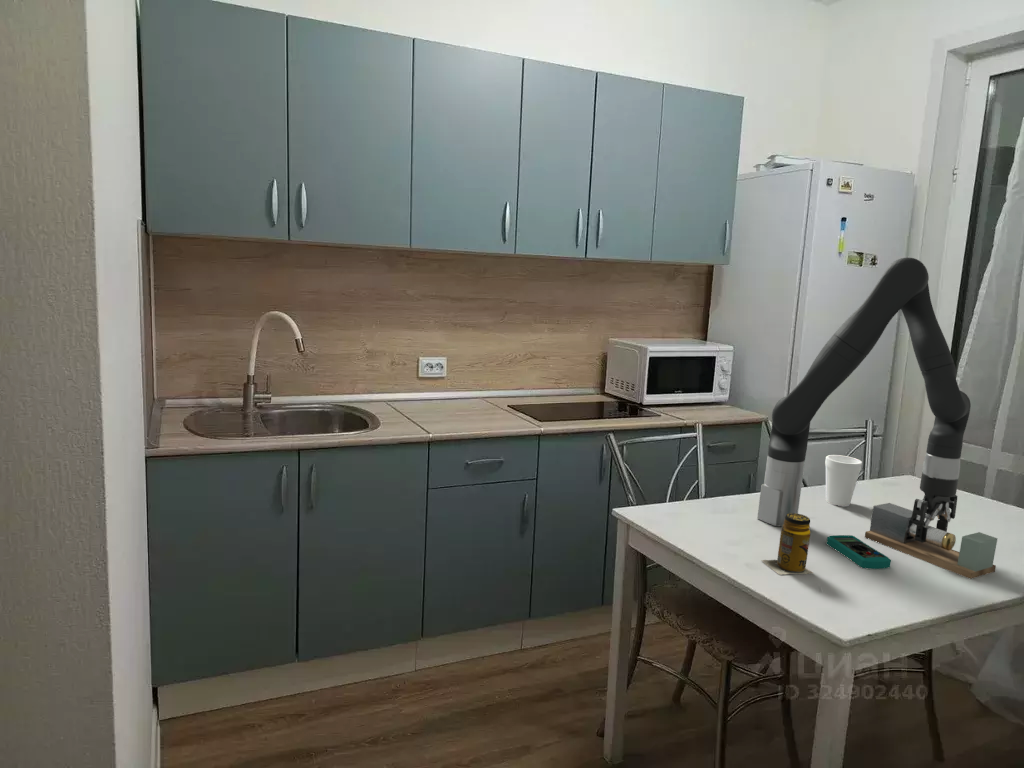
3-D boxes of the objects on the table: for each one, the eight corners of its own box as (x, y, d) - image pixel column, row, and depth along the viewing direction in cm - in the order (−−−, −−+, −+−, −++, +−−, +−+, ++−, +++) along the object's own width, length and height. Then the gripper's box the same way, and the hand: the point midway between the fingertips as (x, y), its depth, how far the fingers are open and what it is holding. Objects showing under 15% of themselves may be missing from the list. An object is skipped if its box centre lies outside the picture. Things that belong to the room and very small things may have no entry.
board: (970, 579, 162) (971, 572, 162) (864, 537, 184) (865, 531, 184) (994, 571, 167) (995, 565, 167) (888, 531, 189) (889, 526, 189)
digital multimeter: (863, 571, 164) (865, 558, 164) (824, 545, 178) (826, 533, 178) (892, 571, 165) (894, 558, 165) (851, 545, 180) (853, 533, 179)
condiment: (813, 573, 160) (821, 521, 158) (779, 575, 158) (786, 522, 156) (794, 560, 167) (800, 510, 165) (760, 561, 165) (767, 511, 163)
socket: (975, 571, 163) (980, 542, 161) (957, 564, 166) (962, 536, 165) (992, 566, 166) (997, 538, 165) (974, 559, 170) (979, 532, 168)
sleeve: (903, 543, 177) (907, 517, 176) (869, 530, 185) (873, 505, 184) (919, 539, 180) (923, 514, 179) (885, 527, 188) (889, 502, 187)
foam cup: (813, 497, 214) (819, 454, 212) (840, 497, 217) (846, 454, 214) (834, 508, 205) (841, 464, 203) (862, 507, 208) (869, 463, 205)
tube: (944, 551, 170) (947, 535, 169) (870, 523, 186) (872, 508, 185) (954, 549, 172) (956, 533, 171) (879, 521, 188) (881, 507, 187)
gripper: (941, 466, 179) (931, 529, 182) (907, 472, 172) (897, 537, 175) (973, 474, 173) (962, 539, 175) (938, 481, 166) (928, 548, 168)
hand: (930, 538), depth 175 cm, fingers open, 8 cm apart
